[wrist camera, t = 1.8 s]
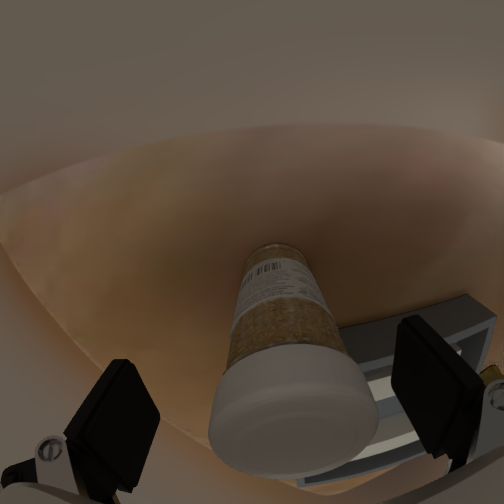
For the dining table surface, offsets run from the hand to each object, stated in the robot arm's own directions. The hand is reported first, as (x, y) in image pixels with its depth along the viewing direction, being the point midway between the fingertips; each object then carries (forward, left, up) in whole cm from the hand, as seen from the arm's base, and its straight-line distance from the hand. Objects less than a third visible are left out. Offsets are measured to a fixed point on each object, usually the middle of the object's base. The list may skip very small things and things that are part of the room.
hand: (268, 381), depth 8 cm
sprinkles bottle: (-1, 0, -11) cm, 11 cm away
